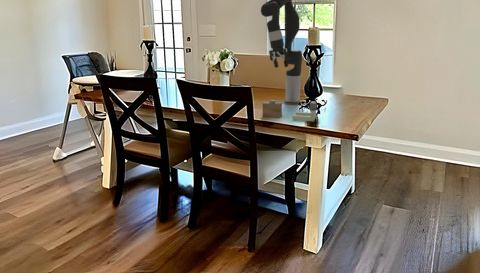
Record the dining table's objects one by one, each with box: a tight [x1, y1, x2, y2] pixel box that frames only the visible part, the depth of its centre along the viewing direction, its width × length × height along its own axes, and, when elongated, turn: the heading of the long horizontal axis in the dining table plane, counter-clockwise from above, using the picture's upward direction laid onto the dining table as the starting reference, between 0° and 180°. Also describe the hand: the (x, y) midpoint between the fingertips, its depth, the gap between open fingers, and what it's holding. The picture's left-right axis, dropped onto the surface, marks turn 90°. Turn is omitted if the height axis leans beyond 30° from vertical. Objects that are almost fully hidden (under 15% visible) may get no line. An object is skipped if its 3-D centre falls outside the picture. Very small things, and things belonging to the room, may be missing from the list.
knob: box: [309, 101, 318, 111], centre depth 224 cm, size 4×4×4 cm
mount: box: [292, 109, 317, 122], centre depth 229 cm, size 9×12×6 cm
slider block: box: [262, 99, 283, 119], centre depth 233 cm, size 5×10×9 cm, turn 73°
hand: (281, 67), depth 240 cm, fingers open, 8 cm apart
